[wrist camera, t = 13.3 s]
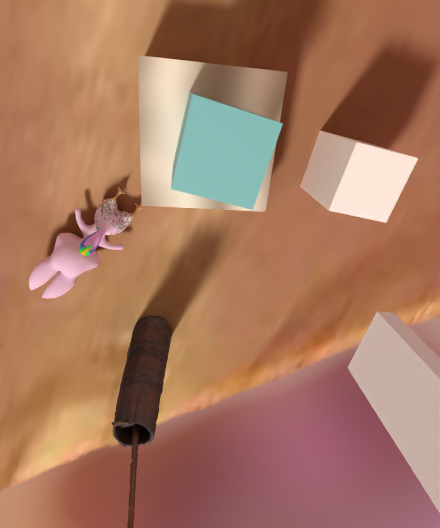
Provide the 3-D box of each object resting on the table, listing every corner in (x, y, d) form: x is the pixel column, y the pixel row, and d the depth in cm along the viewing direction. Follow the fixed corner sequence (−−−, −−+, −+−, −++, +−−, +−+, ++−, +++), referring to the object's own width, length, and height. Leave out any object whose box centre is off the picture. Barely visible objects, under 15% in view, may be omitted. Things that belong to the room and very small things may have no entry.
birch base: (146, 190, 35) (141, 205, 31) (144, 59, 30) (137, 55, 25) (255, 196, 37) (265, 211, 32) (272, 73, 31) (287, 71, 27)
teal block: (172, 164, 29) (170, 189, 22) (189, 91, 27) (192, 94, 20) (235, 181, 31) (252, 209, 24) (257, 114, 28) (282, 123, 21)
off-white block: (300, 186, 37) (328, 210, 30) (319, 130, 34) (356, 142, 27) (347, 197, 38) (386, 222, 31) (370, 143, 35) (418, 158, 28)
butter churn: (99, 305, 41) (-18, 631, 17) (174, 291, 41) (169, 592, 17) (120, 358, 45) (54, 676, 21) (188, 345, 46) (200, 644, 21)
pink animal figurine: (108, 173, 35) (15, 270, 36) (103, 181, 30) (-5, 294, 31) (152, 214, 38) (64, 302, 39) (154, 228, 32) (52, 330, 34)
